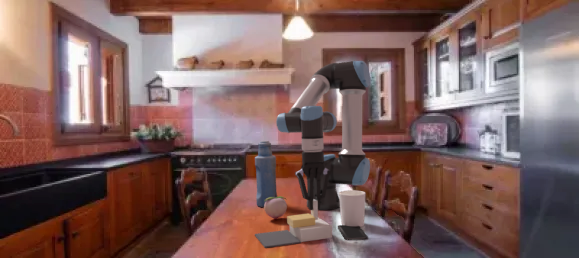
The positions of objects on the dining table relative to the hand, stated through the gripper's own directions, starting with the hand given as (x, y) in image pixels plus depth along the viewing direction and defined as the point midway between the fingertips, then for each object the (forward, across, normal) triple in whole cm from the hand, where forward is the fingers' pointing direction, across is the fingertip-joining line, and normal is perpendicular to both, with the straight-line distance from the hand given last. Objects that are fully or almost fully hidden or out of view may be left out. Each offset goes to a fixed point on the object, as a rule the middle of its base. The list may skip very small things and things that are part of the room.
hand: (314, 218), depth 133 cm
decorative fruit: (+6, -6, +24) cm, 26 cm away
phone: (+6, +12, -4) cm, 14 cm away
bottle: (+5, -3, +50) cm, 51 cm away
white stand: (+5, -2, 0) cm, 6 cm away
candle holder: (+6, +17, +5) cm, 19 cm away
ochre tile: (+1, -5, 0) cm, 5 cm away
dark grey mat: (+5, -14, 0) cm, 15 cm away
